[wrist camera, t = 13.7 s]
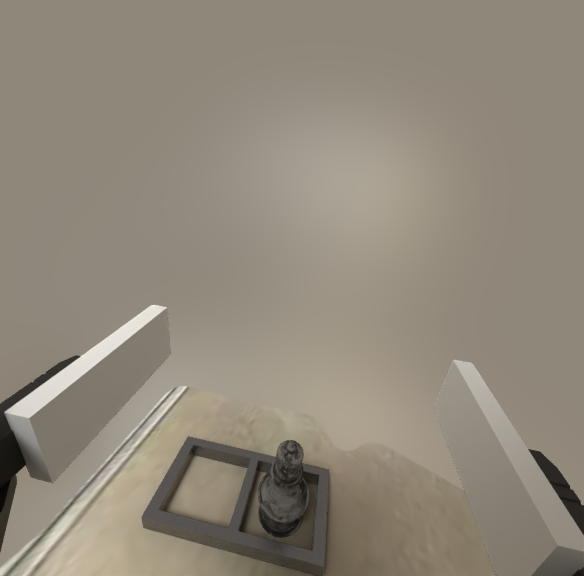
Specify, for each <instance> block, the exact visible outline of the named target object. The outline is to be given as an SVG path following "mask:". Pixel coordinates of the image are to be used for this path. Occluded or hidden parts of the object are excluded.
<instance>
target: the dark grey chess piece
mask: <svg viewBox="0 0 584 576" xmlns="http://www.w3.org/2000/svg"><path fill="white" fill-rule="evenodd" d="M302 461H303V449H302V447H301V445H300V444H299V443H297V442H296V441H293V440H287V441H284V442H283V443H281V444H280V446H279V448H278V450H277V455H276V460H275V461H274V462H273V464H272V467H271V471H270V472H268V473H267V474H266V475H265V476H264V477H263V479H262V480H261V482H260V485H259V489H258V499H259V503H260V506H259V519H260V522H261V524H262V526H263V528H264V529H265V530H266V531H267V532H268V533H269V534H271V535H272V536H275V537H279V538H283V537H288V536H290V535H292V534H293V533H294V532H296V531H297V529H298V528H299V526H300V524H301V522H302V518H303V513H304V512H305V511H306V509H307V506H308V503H309V489H308V486H307V483H306V481H305V480H304V478H303V474H304V470H303V466H302Z"/></svg>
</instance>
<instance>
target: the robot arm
mask: <svg viewBox="0 0 584 576" xmlns="http://www.w3.org/2000/svg"><path fill="white" fill-rule="evenodd" d="M170 355H171V350H170V337H169V325H168V312H167V307H162V306H157V305H151V306H150V307H148V308H147V309H146V310H144V311H143V312H142V313H140V314H139V315H137V316H136V317H135V318H133V319H132V320H130V321H129V322H128V323H126V324H125V325H124V326H122V327H121V328H119V329H118V330H117V331H115V332H114V333H113V334H111V335H110V336H108V337H107V338H106V339H104V340H103V341H102V342H100V343H99V344H97V345H96V346H95V347H93V348H92V349H91V350H89V351H88V352H87V353H85V354H84V355H82V356H74V357H71V358H69V359H67V360H65V361H62V362H60V363H58V364H57V365H56V366H54V367H53V368H51V369H50V370H48V371H47V372H46V374H42V375H41V376H40V377H38V378H37V379H35V380H34V382H33V383H32V382H31V383H29V384H28V385H27V386H25V387H24V388H23V389H21V390H19V391H18V392H17V393H15V394H14V395H12V396H11V397H9V398H8V399H6V400H5V401H4V402H2V403H1V404H0V551H1V547H2V543H3V538H4V535H5V530H6V526H7V522H8V518H9V514H10V509H11V505H12V501H13V497H14V493H15V488H16V484H17V477H16V473H18V471H20V470H21V469H22V468H23V467H24V466H25V465H26V467H27V469H28V472H29V474H30V477H32V478H35V479H39V480H43V481H46V482H50V483H53V482H54V481H55V480H56V479H57V478H58V477H59V476H60V475H61V474H62V473H63V472H64V471H65V469H66V468H67V467H68V466H69V465H70V464H71V463H72V462H73V460H75V459H76V457H77V456H78V455H79V454H80V453H81V452H82V451H83V450H84V449H85V448H86V446H87V445H88V444H89V443H90V442H91V441H92V440H93V439H94V438H95V437H96V436H97V434H98V433H99V432H100V431H101V430H102V429H103V428H104V427H105V426H106V425H107V424H108V422H109V421H110V420H111V419H112V418H113V417H114V416H115V415H116V414H117V413H118V411H119V410H120V409H121V408H122V407H123V406H124V405H125V404H126V402H128V401H129V400H130V398H131V397H132V396H133V395H134V394H135V393H136V392H137V391H138V390H139V389H140V387H141V386H142V385H143V384H144V383H145V382H146V381H147V380H148V379H149V378H150V377H151V376H152V374H153V373H154V372H155V371H156V370H157V369H158V368H159V367H160V366H161V365H162V364H163V362H164V361H165V360H166V359H167V358H168V357H169V356H170ZM434 410H435V412H436V415H437V418H438V420H439V423H440V426H441V428H442V431H443V434H444V437H445V439H446V442H447V445H448V447H449V450H450V453H451V456H452V458H453V461H454V464H455V466H456V469H457V472H458V474H459V477H460V480H461V482H462V485H463V488H464V491H465V493H466V496H467V499H468V501H469V504H470V507H471V510H472V512H473V515H474V518H475V520H476V523H477V526H478V528H479V531H480V534H481V537H482V539H483V542H484V545H485V547H486V550H487V553H488V555H489V558H490V561H491V564H492V566H493V569H494V572H495V574H496V576H584V505H581V503H580V500H579V498H578V497H577V495H576V494H575V493H574V491H573V490H571V489H570V486H569V484H568V483H567V481H566V480H565V478H564V477H563V476H562V474H561V473H560V471H559V470H558V468H557V467H556V466H555V465H553V464H552V463H551V462H550V461H549V460H548V459H547V458H546V457H545V456H544V455H543V454H542V453H541V452H539V451H534V450H530V449H527V447H526V446H525V444H524V442H523V441H522V439H521V438H520V436H519V435H518V433H517V432H516V430H515V429H514V427H513V425H512V424H511V422H510V421H509V419H508V418H507V416H506V415H505V413H504V412H503V410H502V409H501V407H500V405H499V404H498V402H497V401H496V399H495V398H494V396H493V395H492V393H491V391H490V390H489V388H488V387H487V385H486V384H485V383H484V381H483V380H482V378H481V376H480V375H479V373H478V372H477V370H476V368H475V367H474V365H473V364H472V363H469V362H464V361H458V360H453V362H452V364H451V367H450V369H449V371H448V374H447V376H446V379H445V381H444V383H443V386H442V388H441V391H440V393H439V395H438V398H437V400H436V403H435V405H434Z"/></svg>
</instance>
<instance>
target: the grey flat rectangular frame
mask: <svg viewBox="0 0 584 576" xmlns="http://www.w3.org/2000/svg"><path fill="white" fill-rule="evenodd" d="M193 455H196V456H200V457H204V458H209V459H213V460H217V461H221V462H225V463H229V464H233V465H237V466H242V467H246V468H248V469H247V473H246V476H245V479H244V482H243V485H242V488H241V491H240V495H239V498H238V501H237V504H236V507H235V510H234V514H233V517H232V520H231V523H230V526H229V529H228V528H224V527H221V526H217V525H213V524H210V523H206V522H202V521H198V520H195V519H191V518H187V517H183V516H180V515H176V514H172V513H168V512H165V509H166V507H167V505H168V503H169V501H170V499H171V497H172V495H173V494H174V492H175V490H176V488H177V486H178V484H179V482H180V480H181V478H182V476H183V474H184V472H185V470H186V469H187V467H188V465H189V463H190V461H191V459H192V457H193ZM275 460H276V457H274V456H269V455H265V454H261V453H257V452H252V451H248V450H244V449H240V448H235V447H231V446H227V445H223V444H218V443H214V442H210V441H206V440H201V439H197V438H193V437H189V436H188V437H187V439H186V441H185V443H184V444H183V446H182V448H181V450H180V451H179V453H178V455H177V456H176V458H175V460H174V462H173V463H172V465H171V467H170V469H169V470H168V472H167V474H166V476H165V477H164V479H163V481H162V482H161V484H160V486H159V488H158V489H157V491H156V493H155V495H154V496H153V498H152V500H151V502H150V503H149V505H148V507H147V508H146V510H145V512H144V514H143V515H142V523H143V528H146V529H149V530H153V531H157V532H160V533H164V534H168V535H171V536H175V537H178V538H182V539H186V540H189V541H193V542H196V543H200V544H204V545H207V546H211V547H215V548H218V549H222V550H225V551H229V552H233V553H236V554H240V555H243V556H247V557H251V558H254V559H258V560H262V561H265V562H269V563H272V564H276V565H280V566H283V567H287V568H290V569H294V570H298V571H301V572H305V573H309V574H312V575H316V576H322V574H323V570H324V567H325V547H326V526H327V505H328V485H329V469H324V468H320V467H316V466H312V465H307V464H303V463H302V466H303V470H304V474H303V478H304V480H305V481H306V482H307V483H312V484H316V485H317V489H316V500H315V512H314V524H313V536H312V547H311V551H310V550H307V549H303V548H299V547H295V546H292V545H288V544H284V543H281V542H277V541H273V540H269V539H266V538H262V537H258V536H254V535H251V534H247V533H243V532H240V530H241V526H242V523H243V519H244V516H245V512H246V509H247V505H248V502H249V498H250V495H251V491H252V488H253V484H254V481H255V477H256V474H257V470H258V471H262V472H266V473H268V472H270V471H271V467H272V464H273V462H274V461H275Z"/></svg>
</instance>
